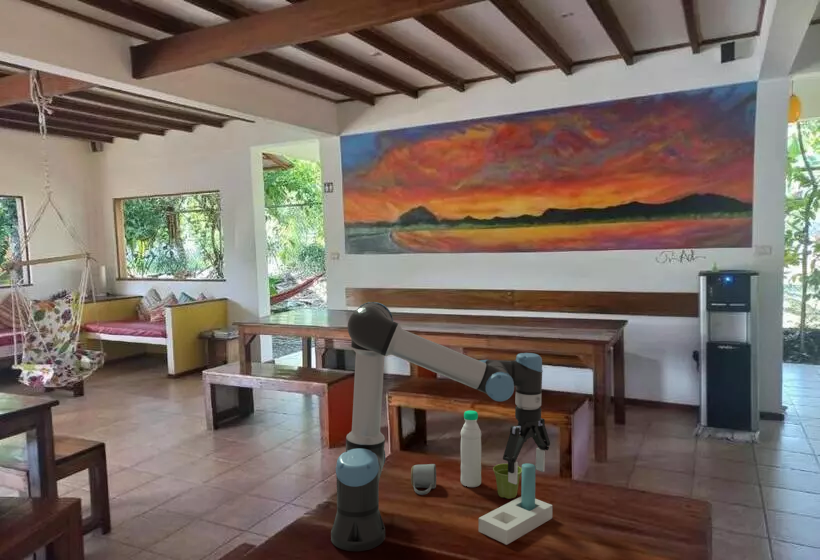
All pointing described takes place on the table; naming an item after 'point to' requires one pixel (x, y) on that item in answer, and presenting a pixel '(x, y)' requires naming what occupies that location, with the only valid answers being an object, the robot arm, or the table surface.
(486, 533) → the hole block
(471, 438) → the water bottle
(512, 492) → the plant pot
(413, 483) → the ceramic mug
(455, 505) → the table surface
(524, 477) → the teal pin
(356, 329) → the robot arm
